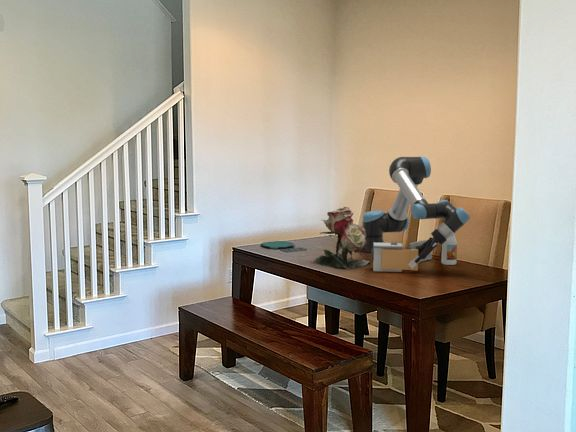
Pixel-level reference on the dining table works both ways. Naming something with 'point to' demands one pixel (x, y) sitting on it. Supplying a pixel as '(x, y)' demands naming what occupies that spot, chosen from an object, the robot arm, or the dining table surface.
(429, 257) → the digital clock
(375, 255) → the box
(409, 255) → the tan long-handled part
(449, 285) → the dining table surface
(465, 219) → the robot arm
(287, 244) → the cutlery set
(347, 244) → the rose bouquet
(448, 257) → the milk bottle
